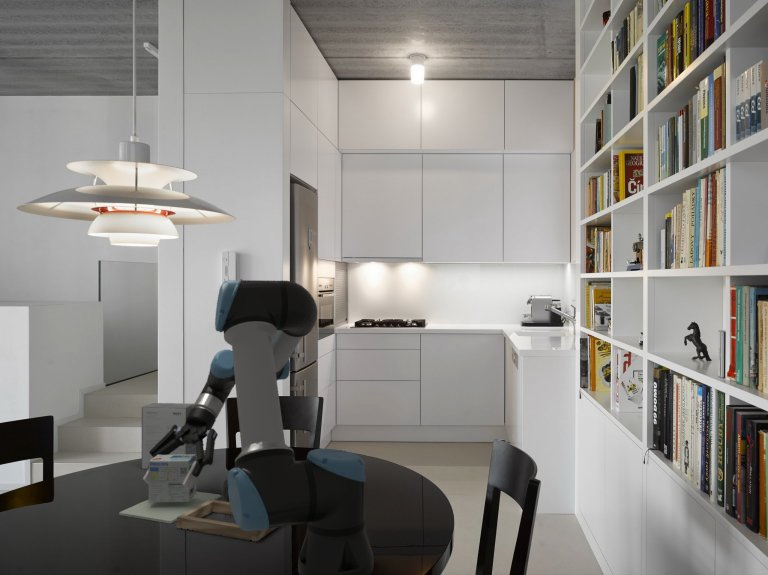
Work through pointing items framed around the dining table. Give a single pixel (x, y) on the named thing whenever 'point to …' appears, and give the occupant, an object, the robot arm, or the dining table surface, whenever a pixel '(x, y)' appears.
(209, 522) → the oak frame
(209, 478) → the dining table surface
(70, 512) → the dining table surface
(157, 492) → the light bulb box
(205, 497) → the sage mat
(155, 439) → the hard drive box
